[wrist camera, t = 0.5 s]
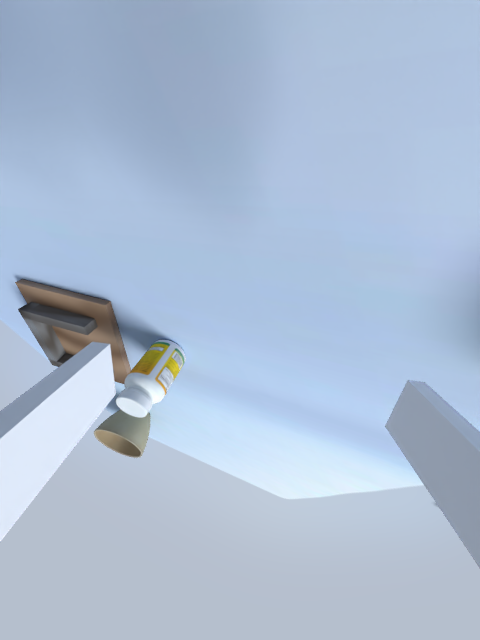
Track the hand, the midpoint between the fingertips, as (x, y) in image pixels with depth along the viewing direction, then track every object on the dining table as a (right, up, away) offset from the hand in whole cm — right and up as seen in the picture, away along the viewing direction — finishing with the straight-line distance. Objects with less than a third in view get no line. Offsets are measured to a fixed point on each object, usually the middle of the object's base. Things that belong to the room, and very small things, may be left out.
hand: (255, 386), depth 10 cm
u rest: (-26, 0, +27) cm, 38 cm away
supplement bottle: (-11, -2, +24) cm, 27 cm away
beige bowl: (-22, -16, +39) cm, 48 cm away
